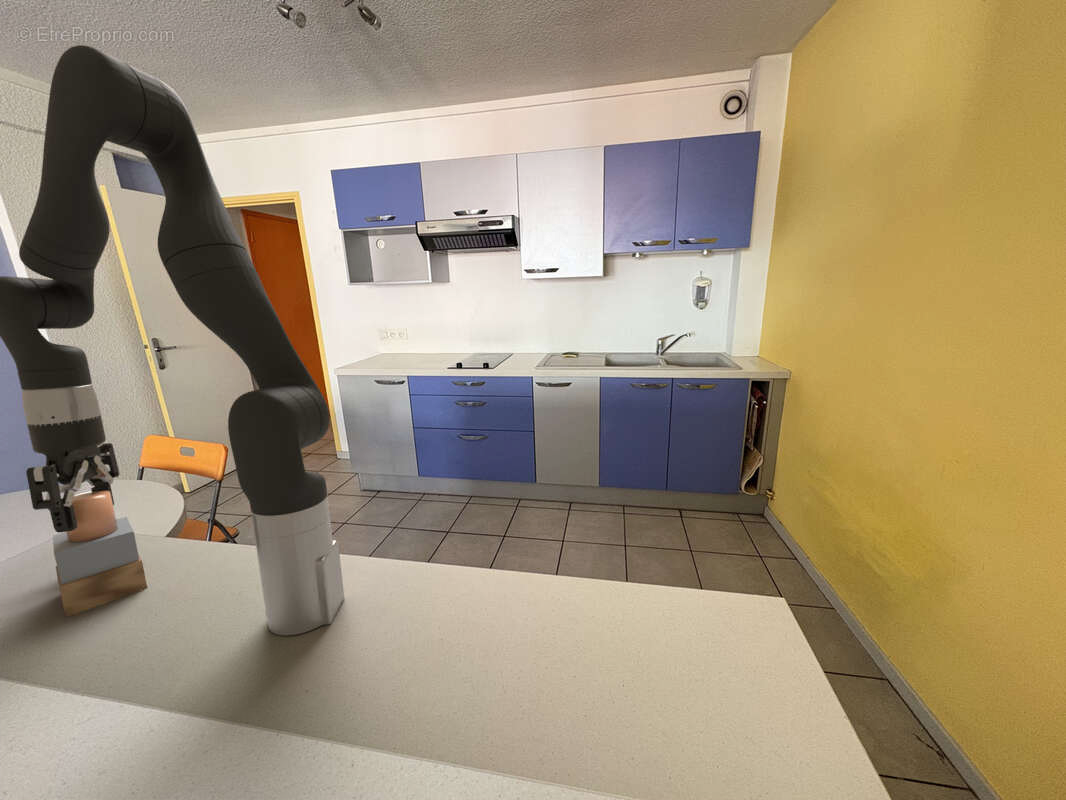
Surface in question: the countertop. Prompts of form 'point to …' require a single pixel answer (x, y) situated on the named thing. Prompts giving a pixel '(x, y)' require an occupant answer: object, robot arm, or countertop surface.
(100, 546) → the slate top block
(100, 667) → the countertop surface
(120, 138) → the robot arm
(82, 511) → the terracotta cylinder
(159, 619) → the countertop surface
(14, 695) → the countertop surface
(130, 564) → the walnut base block
